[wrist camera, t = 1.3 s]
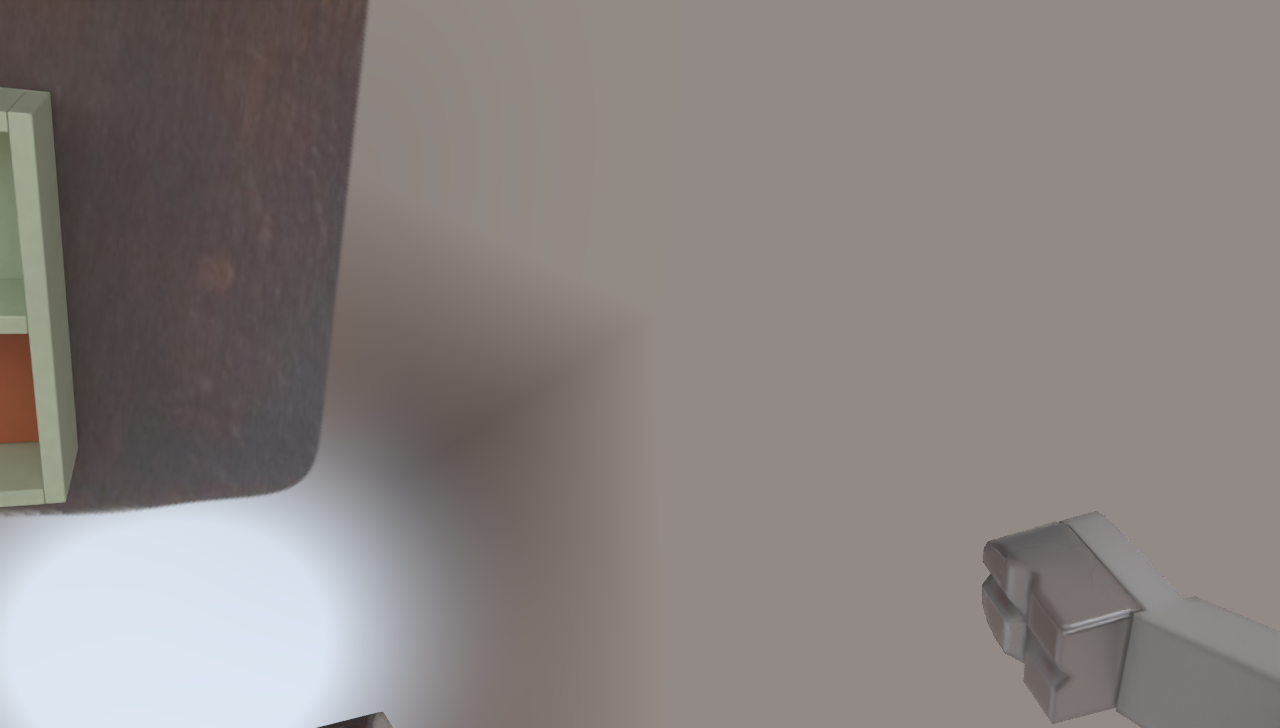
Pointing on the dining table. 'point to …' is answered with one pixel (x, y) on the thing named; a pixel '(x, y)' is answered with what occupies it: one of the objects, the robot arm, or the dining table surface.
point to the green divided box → (32, 311)
